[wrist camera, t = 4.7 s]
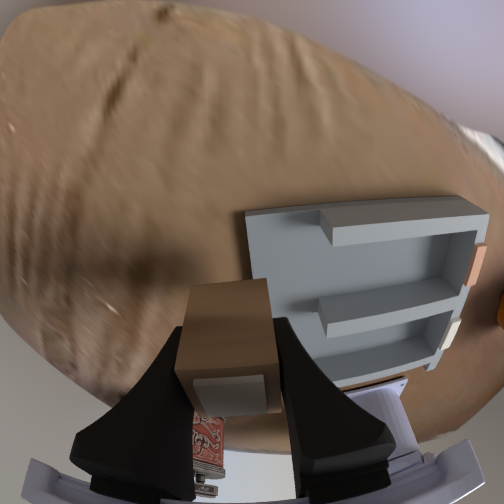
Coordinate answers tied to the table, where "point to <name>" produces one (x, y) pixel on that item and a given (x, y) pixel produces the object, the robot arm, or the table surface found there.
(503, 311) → the mug
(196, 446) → the lighter
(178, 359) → the plug
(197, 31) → the table surface
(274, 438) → the table surface
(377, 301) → the socket board
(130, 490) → the robot arm
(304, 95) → the table surface
